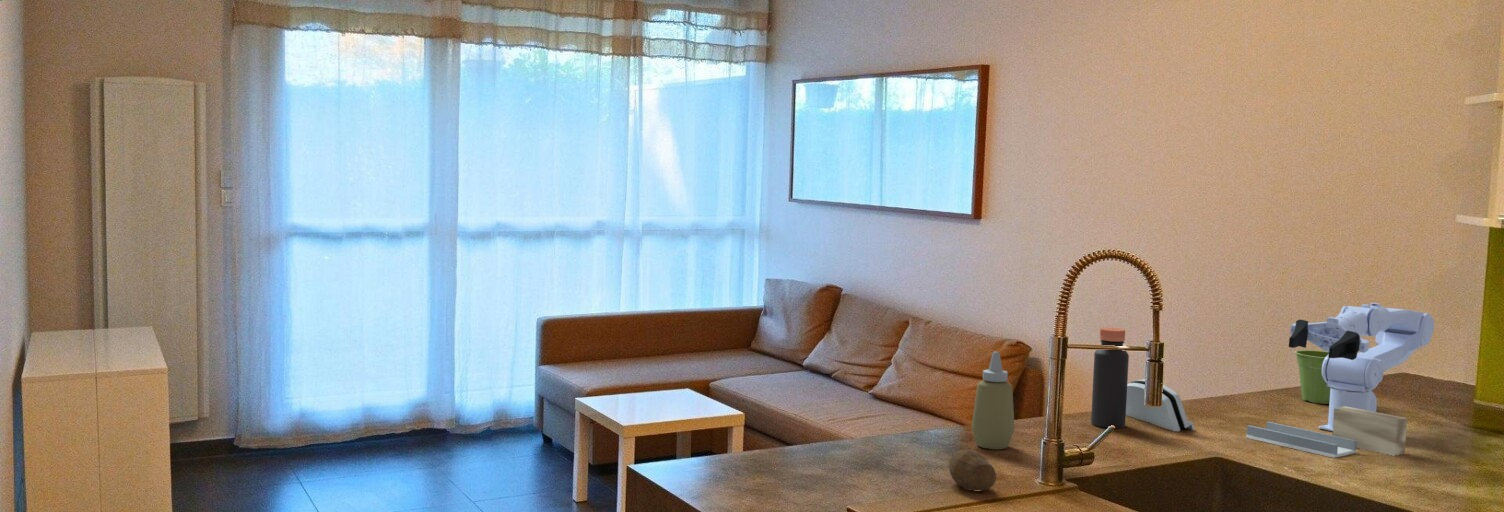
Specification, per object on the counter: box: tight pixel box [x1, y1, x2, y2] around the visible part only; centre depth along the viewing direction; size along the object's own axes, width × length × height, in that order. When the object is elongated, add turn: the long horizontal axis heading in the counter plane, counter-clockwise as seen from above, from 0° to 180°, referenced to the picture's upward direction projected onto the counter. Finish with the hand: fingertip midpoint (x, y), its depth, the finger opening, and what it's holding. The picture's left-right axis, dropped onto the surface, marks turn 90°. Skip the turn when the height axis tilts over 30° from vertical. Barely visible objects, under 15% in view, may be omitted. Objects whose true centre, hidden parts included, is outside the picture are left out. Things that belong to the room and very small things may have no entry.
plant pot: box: [1294, 349, 1331, 405], centre depth 270 cm, size 12×12×11 cm
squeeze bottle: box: [971, 351, 1015, 450], centre depth 218 cm, size 8×8×18 cm
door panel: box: [1332, 406, 1408, 457], centre depth 225 cm, size 4×12×7 cm, turn 35°
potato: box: [948, 449, 997, 491], centre depth 190 cm, size 7×10×6 cm
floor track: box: [1245, 421, 1358, 459], centre depth 226 cm, size 8×18×2 cm, turn 35°
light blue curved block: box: [1126, 379, 1195, 433], centre depth 243 cm, size 17×5×10 cm, turn 19°
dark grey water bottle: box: [1090, 327, 1130, 429], centre depth 238 cm, size 7×7×20 cm
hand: (1310, 347), depth 225 cm, fingers open, 7 cm apart
